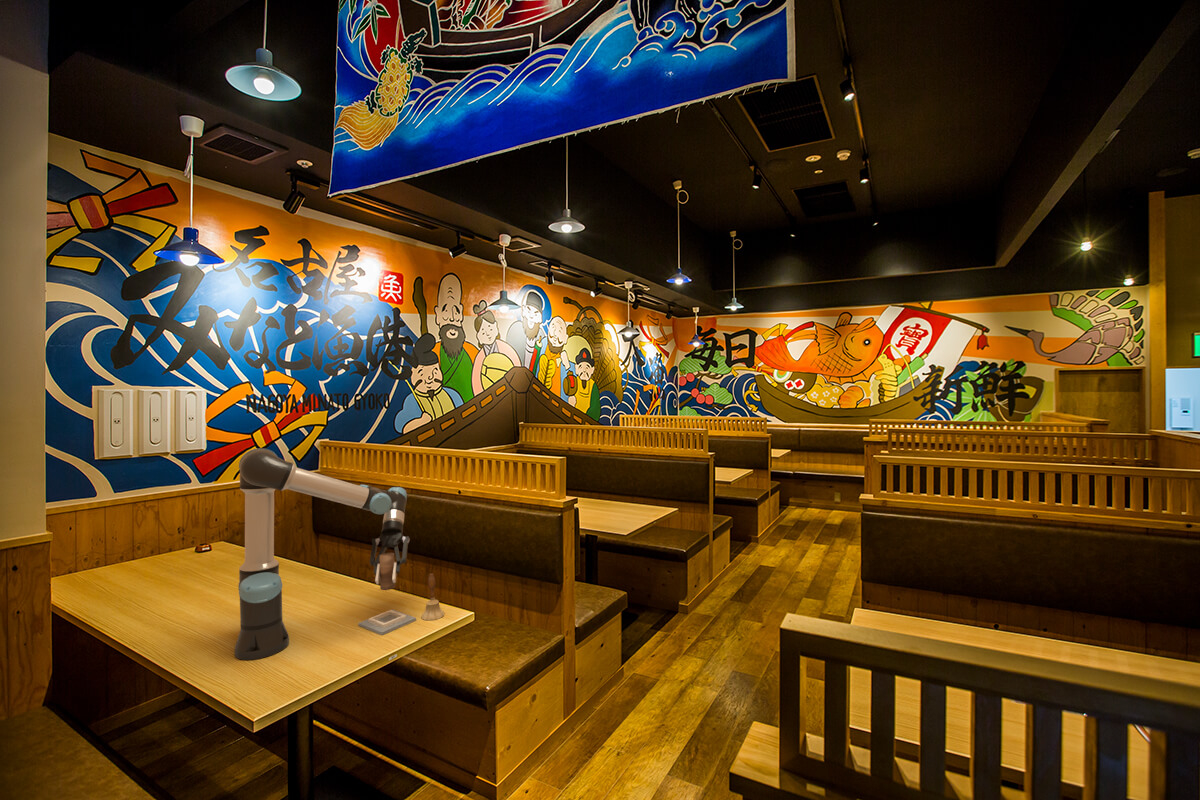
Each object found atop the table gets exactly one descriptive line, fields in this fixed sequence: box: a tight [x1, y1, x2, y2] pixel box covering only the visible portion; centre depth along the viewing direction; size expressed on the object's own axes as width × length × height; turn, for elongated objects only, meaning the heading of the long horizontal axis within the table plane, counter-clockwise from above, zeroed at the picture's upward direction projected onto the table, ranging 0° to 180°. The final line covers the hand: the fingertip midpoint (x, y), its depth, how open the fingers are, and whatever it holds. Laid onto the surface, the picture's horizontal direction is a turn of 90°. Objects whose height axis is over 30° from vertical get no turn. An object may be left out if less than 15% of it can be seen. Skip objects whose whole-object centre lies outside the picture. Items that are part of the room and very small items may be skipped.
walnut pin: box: [379, 552, 396, 591], centre depth 192 cm, size 5×5×12 cm
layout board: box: [358, 609, 417, 636], centre depth 192 cm, size 14×14×2 cm
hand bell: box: [421, 573, 445, 621], centre depth 198 cm, size 8×8×16 cm
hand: (385, 581), depth 188 cm, fingers closed on walnut pin, 5 cm apart
